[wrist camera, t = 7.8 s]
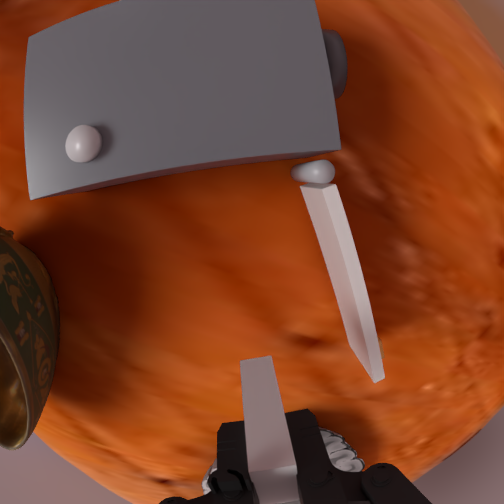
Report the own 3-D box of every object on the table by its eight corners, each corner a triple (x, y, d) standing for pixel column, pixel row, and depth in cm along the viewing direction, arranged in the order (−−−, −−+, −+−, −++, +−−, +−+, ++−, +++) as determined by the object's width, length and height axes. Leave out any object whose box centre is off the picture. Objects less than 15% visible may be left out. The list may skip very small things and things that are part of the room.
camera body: (76, 67, 18) (23, 34, 10) (308, 29, 18) (339, -25, 11) (84, 191, 20) (23, 201, 13) (328, 156, 20) (375, 147, 13)
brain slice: (301, 511, 31) (305, 527, 28) (182, 492, 29) (180, 510, 26) (392, 423, 28) (402, 440, 25) (250, 390, 25) (252, 412, 22)
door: (345, 343, 24) (371, 384, 18) (287, 167, 20) (308, 164, 15) (365, 334, 24) (395, 372, 18) (312, 158, 20) (340, 153, 15)
